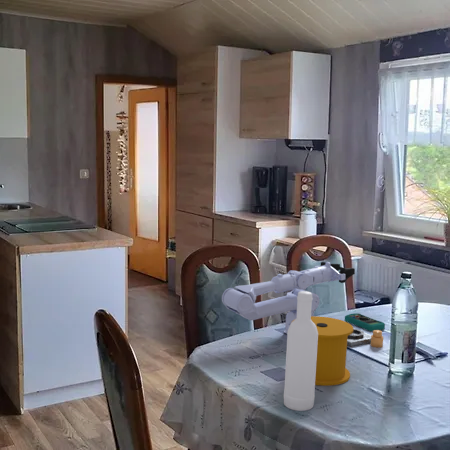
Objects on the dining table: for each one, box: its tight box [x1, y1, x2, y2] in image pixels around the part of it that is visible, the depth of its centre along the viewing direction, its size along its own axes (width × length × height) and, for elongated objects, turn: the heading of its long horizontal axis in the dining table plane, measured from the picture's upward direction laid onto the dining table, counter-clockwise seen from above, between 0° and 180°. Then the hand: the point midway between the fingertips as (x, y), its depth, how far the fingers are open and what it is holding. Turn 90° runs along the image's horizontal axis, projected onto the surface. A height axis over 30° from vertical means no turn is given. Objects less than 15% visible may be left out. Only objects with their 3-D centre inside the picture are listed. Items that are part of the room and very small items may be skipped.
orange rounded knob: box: [370, 330, 384, 349], centre depth 210 cm, size 4×4×5 cm
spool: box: [291, 315, 354, 387], centre depth 183 cm, size 18×18×15 cm
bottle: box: [283, 290, 318, 412], centre depth 160 cm, size 8×8×30 cm
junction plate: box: [347, 327, 372, 347], centre depth 217 cm, size 12×12×2 cm
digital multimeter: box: [344, 312, 386, 332], centre depth 234 cm, size 7×15×3 cm, turn 31°
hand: (346, 268), depth 227 cm, fingers open, 7 cm apart
